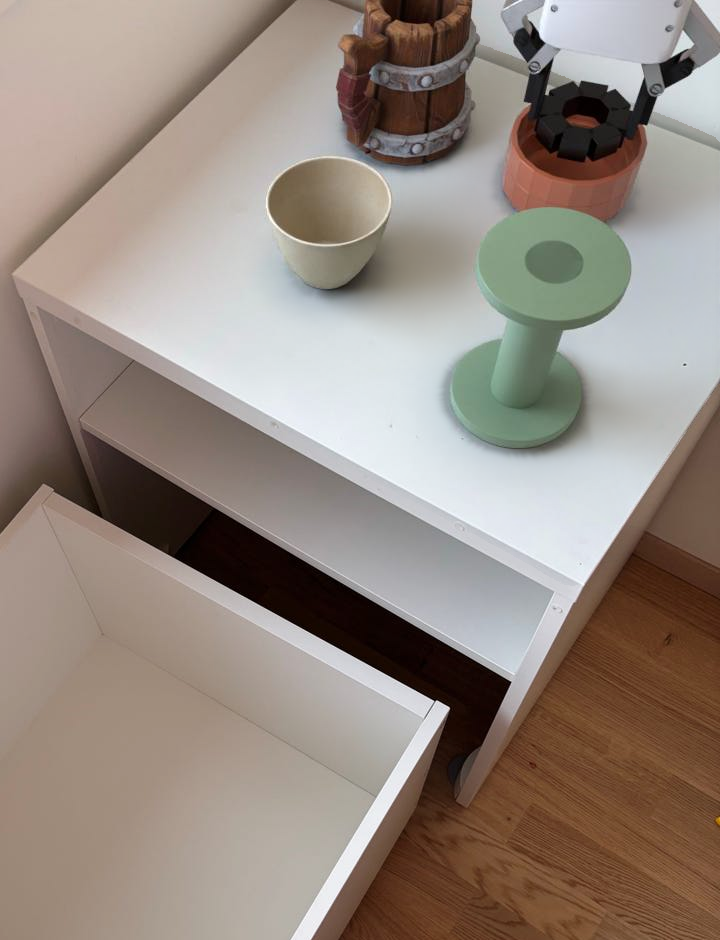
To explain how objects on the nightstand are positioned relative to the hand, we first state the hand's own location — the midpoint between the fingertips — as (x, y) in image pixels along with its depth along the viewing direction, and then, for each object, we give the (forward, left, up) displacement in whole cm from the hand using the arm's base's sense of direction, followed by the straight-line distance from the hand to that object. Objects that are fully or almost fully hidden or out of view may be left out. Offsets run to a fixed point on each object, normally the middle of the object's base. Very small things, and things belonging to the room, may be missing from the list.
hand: (583, 117), depth 81 cm
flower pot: (+17, +15, -7) cm, 24 cm away
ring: (0, 0, -1) cm, 1 cm away
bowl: (0, 0, -7) cm, 7 cm away
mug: (+16, -2, -7) cm, 17 cm away
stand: (-1, +24, -7) cm, 25 cm away
